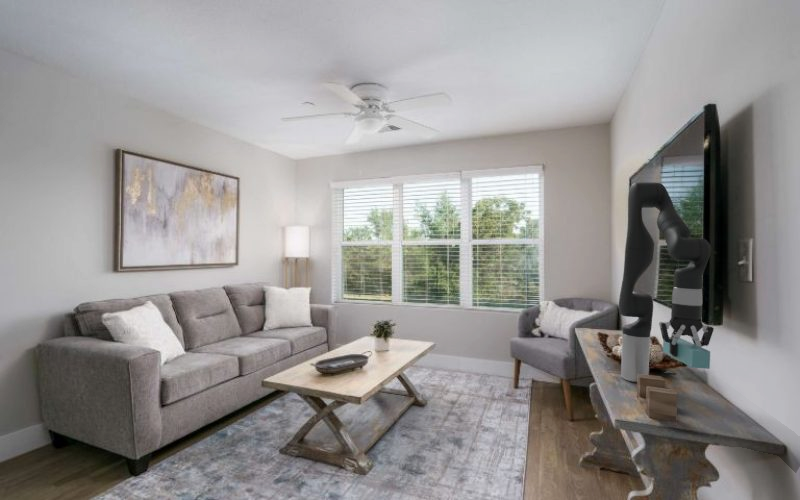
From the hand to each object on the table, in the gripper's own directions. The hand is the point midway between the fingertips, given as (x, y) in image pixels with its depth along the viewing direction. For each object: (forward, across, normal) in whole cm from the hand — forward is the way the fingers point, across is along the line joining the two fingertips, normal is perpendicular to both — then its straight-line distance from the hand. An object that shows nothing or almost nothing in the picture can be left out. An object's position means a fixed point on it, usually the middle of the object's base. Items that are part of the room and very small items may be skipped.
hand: (684, 357), depth 122 cm
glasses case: (+1, 0, 0) cm, 1 cm away
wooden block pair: (+17, +7, 0) cm, 19 cm away
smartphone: (+18, -7, -50) cm, 54 cm away
